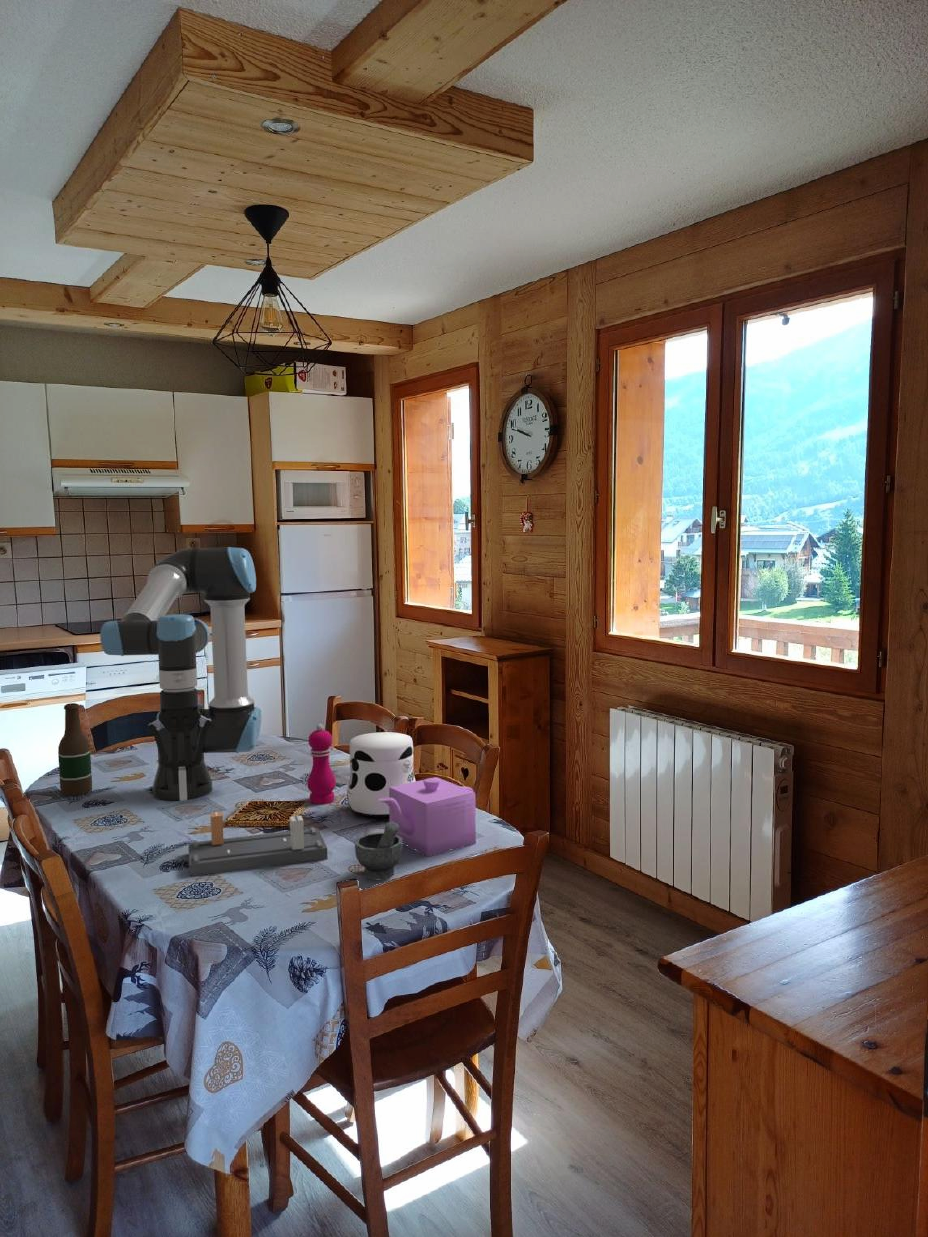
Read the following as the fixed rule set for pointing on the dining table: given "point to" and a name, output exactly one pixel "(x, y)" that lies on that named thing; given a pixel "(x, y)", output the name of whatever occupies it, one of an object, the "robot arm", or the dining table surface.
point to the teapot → (433, 815)
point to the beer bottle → (74, 756)
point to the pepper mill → (321, 768)
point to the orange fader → (217, 828)
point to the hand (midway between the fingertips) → (183, 798)
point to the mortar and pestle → (379, 852)
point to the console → (254, 852)
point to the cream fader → (297, 832)
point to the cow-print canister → (378, 770)
